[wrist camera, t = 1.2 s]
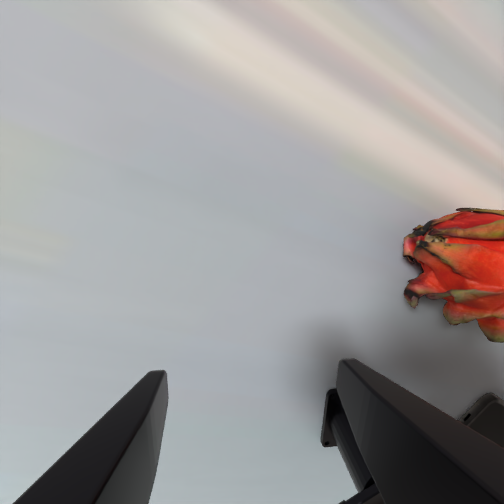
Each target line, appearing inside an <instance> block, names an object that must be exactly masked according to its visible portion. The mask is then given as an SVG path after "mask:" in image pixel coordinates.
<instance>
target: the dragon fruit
mask: <svg viewBox="0 0 504 504" xmlns="http://www.w3.org/2000/svg"><path fill="white" fill-rule="evenodd" d="M456 211H460V212H457V213H453V214H450V215H446V216H443V217H441V218H439V219H434V220H431V221H429V222H427V223H426V224H425V225H424V226H421V225H418V226H417V227H416V228H414V229H413V230H417V231H415V232H413V233H412V234H409V235H407V236H406V237H405V238H404V244H403V246H404V253H403V257H406V258H407V259H409V261H410V262H413V264H414V261H413V259H416V260H417V262H418V263H421V266H422V268H423V270H424V272H423V273H421V274H419V276H418V277H417V278H415V279H411V280H409V281H408V282H409V284H408V285H407V286H406V288H405V290H404V296H405V298H406V300H407V301H408V303H409V304H410V305H411V306H412V307H413V308H416V306H417V305H418V299H419V298H420V297H421V296H423V295H425V294H427V295H425V296H426V297H428V298H429V299H433V300H434V299H440V298H443V299H445V300H447V301H448V302H447V303H446V304H445V305H444V308H443V314H444V317H445V318H446V320H447V321H448V322H449V324H450V325H458V324H460V323H468V322H470V321H473V320H474V319H476V320H477V321H478V324H479V327H480V329H481V330H482V332H483V333H484V334H485V336H486V337H487V339H488V340H489V341H491V342H500V343H503V342H504V210H491V209H489V210H487V209H478V208H459V209H456ZM471 211H473V212H471ZM421 235H422V236H421Z"/></svg>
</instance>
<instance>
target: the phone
mask: <svg viewBox="0 0 504 504" xmlns="http://www.w3.org/2000/svg"><path fill="white" fill-rule="evenodd" d="M478 404H480V405H478ZM469 413H470V414H471V416H470V417H469V418H468V419H467V420H466V421H464V420H463V419H464V418H465V417H466V416H467V415H468V414H469ZM458 421H459V422H461V423H462V424H464V425H466V426H467V427H469V428H471V429H472V430H474V431H476V432H477V433H479V434H481V435H482V436H484V437H486V438H487V439H489V440H491V441H492V442H494V443H496V444H497V445H499V446H501V447H502V448H504V401H503V400H502V399H501V398H499V397H498V396H496V395H495V394H492V393H489V394H485V395H484V396H482V397H481V398H480V399H479V400H478V401H477V402H476V403H475V404H474V405H473V406H472V407H471V408H470V409H469V410H468V411H467V412H466V413H465V414H464V415H463V416H462V417H461V418H460V419H459V420H458Z"/></svg>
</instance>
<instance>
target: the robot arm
mask: <svg viewBox="0 0 504 504" xmlns="http://www.w3.org/2000/svg"><path fill="white" fill-rule="evenodd" d="M336 388H337V389H333V390H329V391H328V392H327V394H326V401H325V409H324V417H323V424H322V432H321V443H322V446H323V447H333V446H338V449H339V451H340V453H341V455H342V458H343V460H344V462H345V464H346V466H347V469H348V471H349V473H350V475H351V478H352V480H353V482H354V484H355V486H356V489H357V491H358V494H356V495H354V496H353V497H351V498H350V499H348V500H347V501H345V500H343V501H342V502H340V503H339V504H504V448H502V447H501V446H499V445H497V444H496V443H494V442H492V441H491V440H489V439H487V438H486V437H484V436H482V435H481V434H479V433H477V432H476V431H474V430H472V429H471V428H469V427H467V426H466V425H464V424H462V423H461V422H459V421H457V420H456V419H454V418H452V417H451V416H449V415H447V414H446V413H444V412H442V411H441V410H439V409H437V408H436V407H434V406H433V405H431V404H429V403H428V402H426V401H424V400H423V399H421V398H419V397H418V396H416V395H414V394H413V393H411V392H409V391H408V390H406V389H404V388H403V387H401V386H399V385H398V384H396V383H394V382H393V381H391V380H389V379H388V378H386V377H384V376H383V375H381V374H379V373H378V372H376V371H374V370H373V369H371V368H369V367H368V366H366V365H364V364H363V363H361V362H359V361H358V360H356V359H353V358H350V359H341V360H340V361H339V365H338V372H337V379H336ZM167 406H168V383H167V373H166V371H165V370H156V371H150V372H148V373H147V374H146V375H145V376H144V377H143V378H142V379H141V380H140V381H139V382H138V383H137V384H136V385H135V386H134V387H133V388H132V389H131V390H130V391H129V392H128V393H127V394H126V395H124V396H123V397H122V398H121V399H120V400H119V401H118V402H117V403H116V404H115V405H114V406H113V407H112V408H111V409H110V410H109V411H108V412H107V413H106V414H105V415H104V416H103V417H102V418H101V419H100V420H99V421H98V422H97V423H96V424H95V425H93V426H92V427H91V428H90V429H89V430H88V431H87V432H86V433H85V434H84V435H83V436H82V437H81V438H80V439H79V440H78V441H77V442H76V443H75V444H74V445H73V446H72V447H71V448H70V449H69V450H68V451H67V452H66V453H65V454H64V455H62V456H61V457H60V458H59V459H58V460H57V461H56V462H55V463H54V464H53V465H52V466H51V467H50V468H49V469H48V470H47V471H46V472H45V473H44V474H43V475H42V476H41V477H40V478H39V479H38V480H37V481H36V482H35V483H34V484H33V485H32V486H30V487H29V488H28V489H27V490H26V491H25V492H24V493H23V494H22V495H21V496H20V497H19V498H18V499H17V500H16V501H15V502H14V503H13V504H148V503H149V499H150V496H151V492H152V488H153V484H154V480H155V476H156V471H157V466H158V460H159V454H160V448H161V442H162V436H163V430H164V424H165V418H166V412H167Z"/></svg>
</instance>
